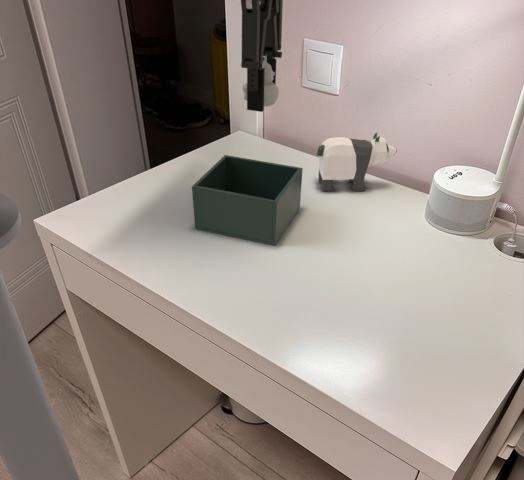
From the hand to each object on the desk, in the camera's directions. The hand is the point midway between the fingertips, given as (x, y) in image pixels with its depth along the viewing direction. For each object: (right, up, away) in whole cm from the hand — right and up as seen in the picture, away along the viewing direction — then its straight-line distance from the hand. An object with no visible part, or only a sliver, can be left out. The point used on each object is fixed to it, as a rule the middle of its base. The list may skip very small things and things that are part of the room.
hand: (261, 104), depth 92 cm
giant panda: (+17, -11, +10) cm, 22 cm away
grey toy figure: (0, 0, 0) cm, 1 cm away
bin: (-2, -20, 0) cm, 20 cm away
